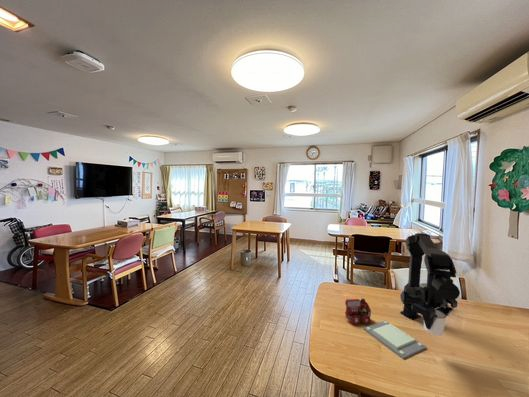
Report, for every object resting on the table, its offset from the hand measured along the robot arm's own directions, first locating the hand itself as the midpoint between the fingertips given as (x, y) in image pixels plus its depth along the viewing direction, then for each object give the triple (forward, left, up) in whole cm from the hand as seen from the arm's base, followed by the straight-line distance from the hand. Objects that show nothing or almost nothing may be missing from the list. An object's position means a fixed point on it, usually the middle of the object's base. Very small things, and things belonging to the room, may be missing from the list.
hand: (433, 326), depth 83 cm
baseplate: (+5, -12, -11) cm, 17 cm away
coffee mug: (-37, -22, -11) cm, 44 cm away
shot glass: (0, 0, -2) cm, 2 cm away
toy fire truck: (+9, -27, -12) cm, 31 cm away
